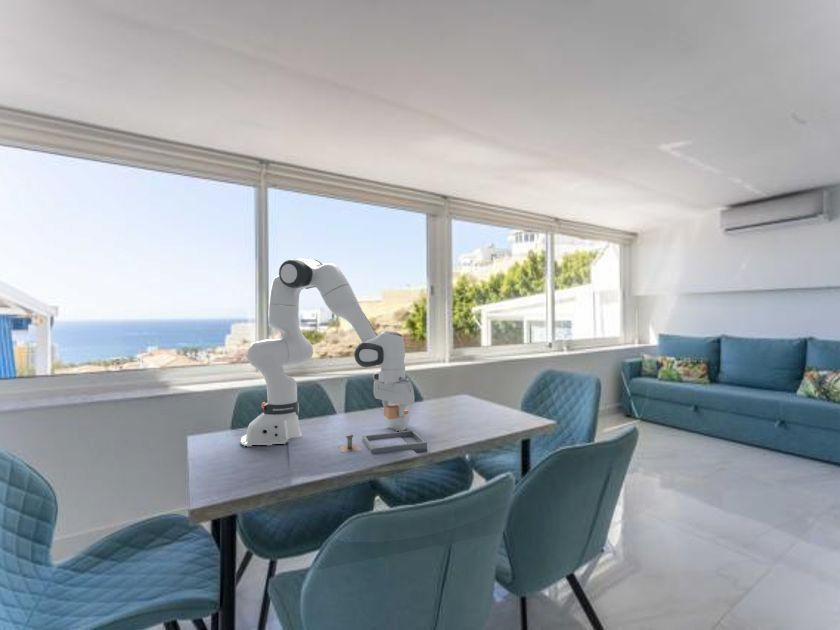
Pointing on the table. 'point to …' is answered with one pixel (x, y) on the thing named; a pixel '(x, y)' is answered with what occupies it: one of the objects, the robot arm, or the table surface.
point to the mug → (398, 420)
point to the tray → (408, 436)
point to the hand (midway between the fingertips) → (393, 414)
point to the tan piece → (393, 411)
